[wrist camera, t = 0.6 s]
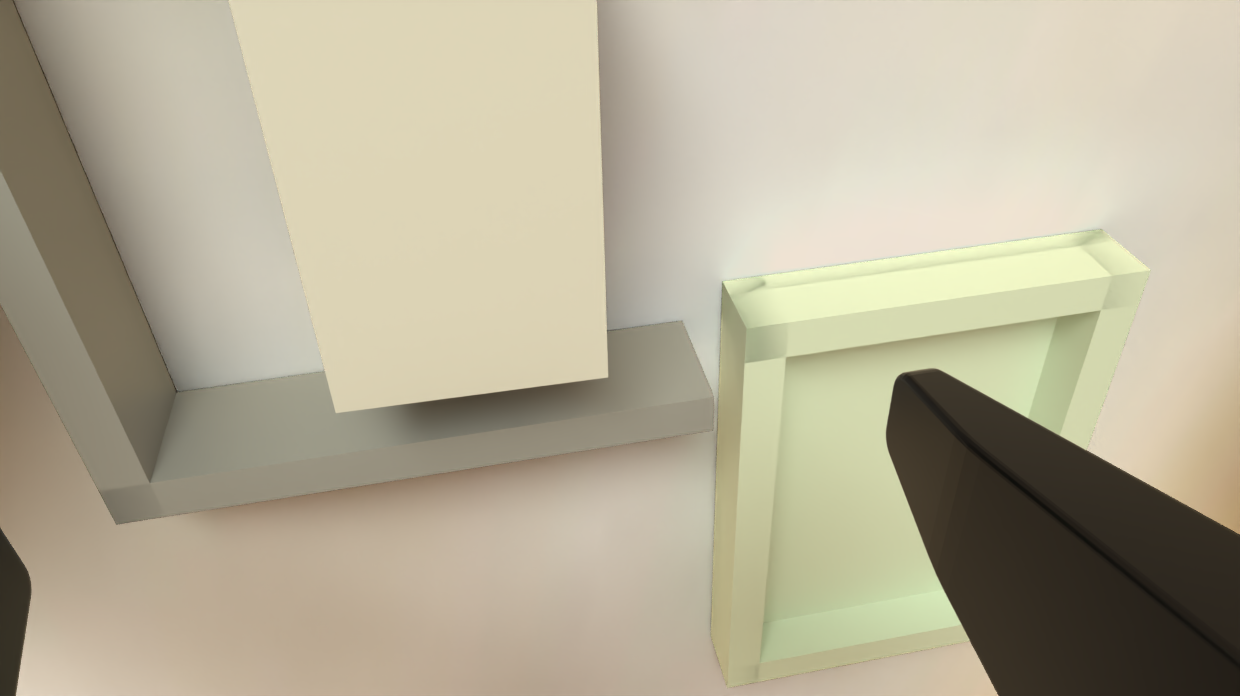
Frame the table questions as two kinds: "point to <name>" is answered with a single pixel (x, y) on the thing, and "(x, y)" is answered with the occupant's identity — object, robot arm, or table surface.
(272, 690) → the table surface
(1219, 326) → the table surface
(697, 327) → the table surface
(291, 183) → the beige gray rectangular block
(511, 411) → the bay
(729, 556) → the tray
